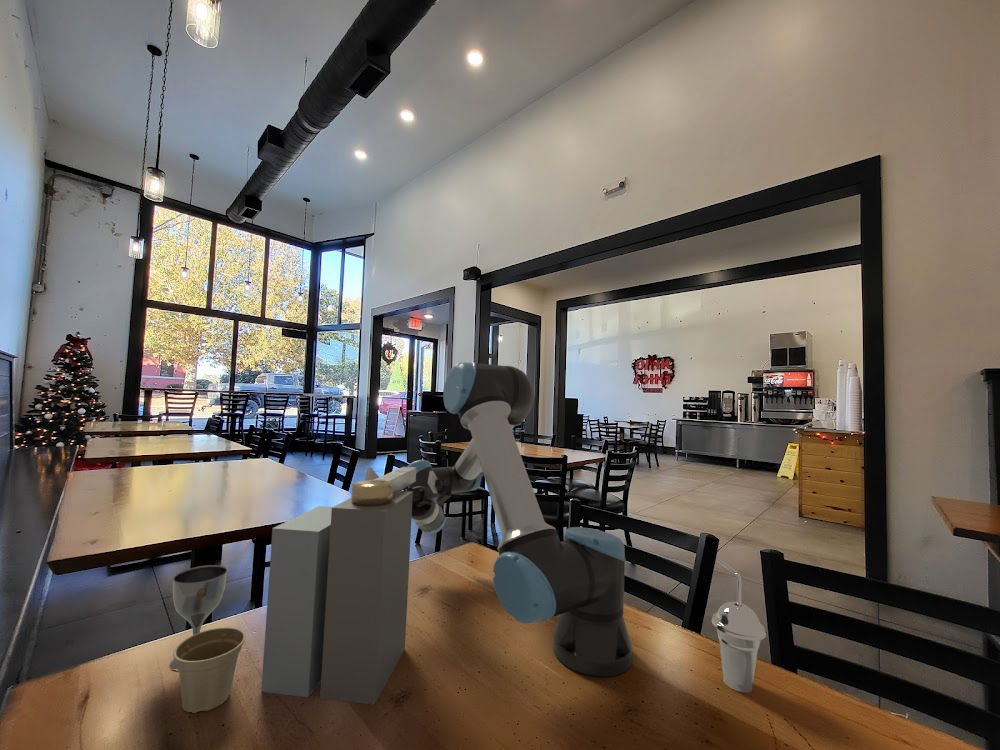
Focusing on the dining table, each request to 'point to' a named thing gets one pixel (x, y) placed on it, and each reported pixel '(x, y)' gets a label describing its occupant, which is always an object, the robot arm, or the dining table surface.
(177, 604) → the wine glass
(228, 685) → the flower pot
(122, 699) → the dining table surface
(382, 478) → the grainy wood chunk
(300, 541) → the short stand
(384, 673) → the tall stand
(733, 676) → the cup with straw
